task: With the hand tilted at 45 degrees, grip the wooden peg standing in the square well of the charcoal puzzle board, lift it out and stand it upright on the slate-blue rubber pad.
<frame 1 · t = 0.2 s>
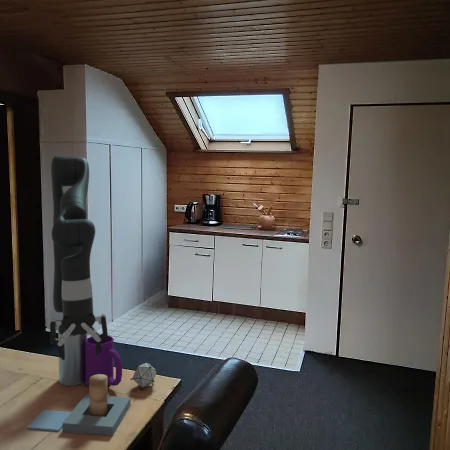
hand: (80, 356, 116), 22 cm above the table, tool pointing down, fingers open, 8 cm apart
peg: (98, 398, 127), in the board
board: (98, 417, 127), on the table
mug: (105, 385, 147), on the table
pad: (51, 421, 125), on the table
game die: (144, 386, 147), on the table
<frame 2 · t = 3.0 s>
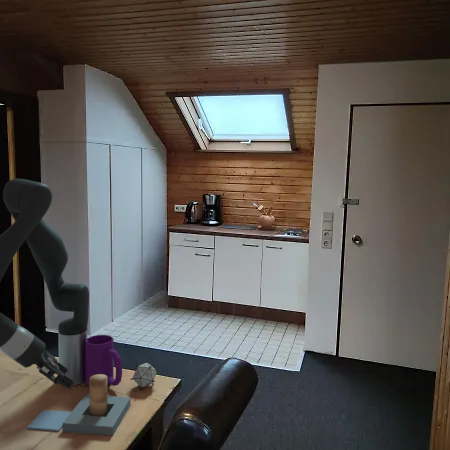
hand: (68, 378, 122), 14 cm above the table, tool tilted 45°, fingers open, 8 cm apart
nothing on the table moved.
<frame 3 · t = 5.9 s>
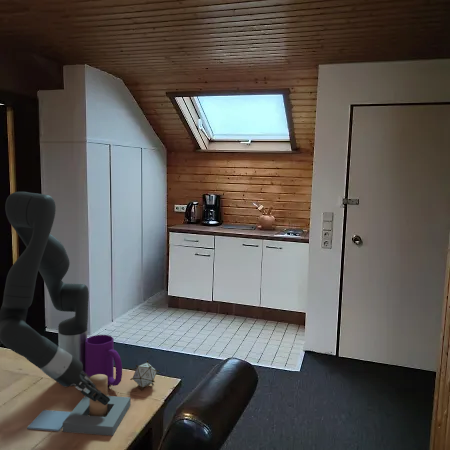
hand: (104, 397, 128), 6 cm above the table, tool tilted 45°, fingers closed on peg, 5 cm apart
peg: (98, 397, 127), in the board, touching gripper
everything else where it was.
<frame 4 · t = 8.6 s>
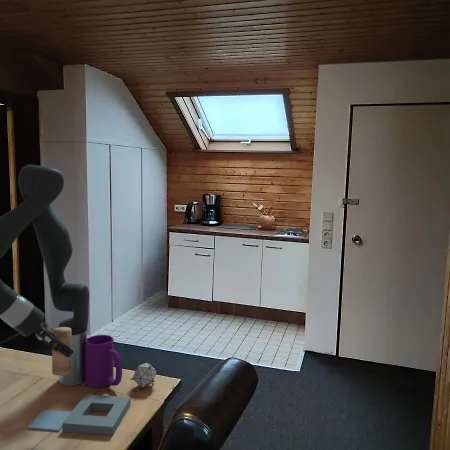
hand: (68, 350, 124), 20 cm above the table, tool tilted 45°, fingers closed on peg, 5 cm apart
peg: (61, 350, 123), point 21 cm above the table, touching gripper
everything else where it was.
when the fingers open (8 cm above the table, at t = 11.7 s): peg drops 1 cm, resting on pad.
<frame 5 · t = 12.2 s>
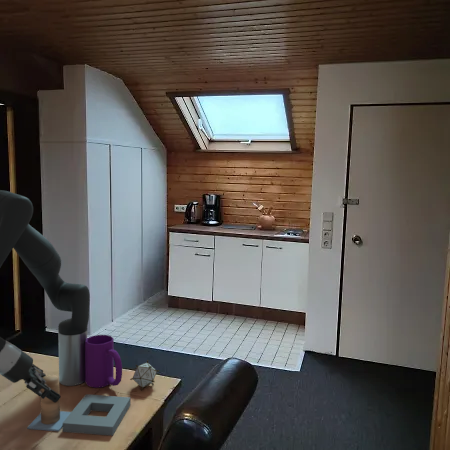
hand: (55, 392, 125), 8 cm above the table, tool tilted 45°, fingers open, 8 cm apart
peg: (50, 399, 124), on the pad
everything else where it was.
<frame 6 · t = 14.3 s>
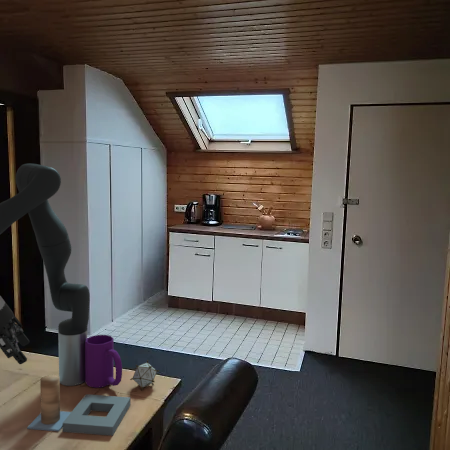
hand: (25, 352, 122), 20 cm above the table, tool tilted 30°, fingers open, 8 cm apart
nothing on the table moved.
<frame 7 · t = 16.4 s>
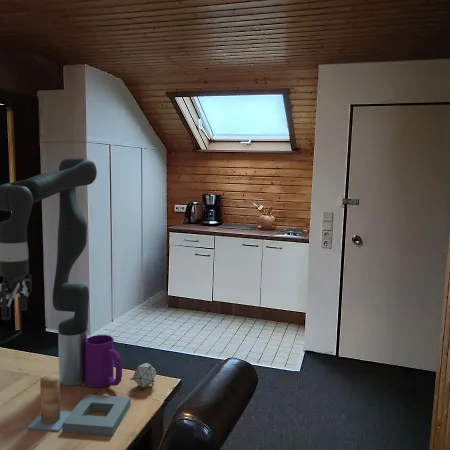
hand: (15, 314, 123), 30 cm above the table, tool pointing down, fingers open, 8 cm apart
nothing on the table moved.
at the end: peg inside the target area on the pad (0.1 cm from its centre), point 6.5 cm above the pad's base; peg tilted 0°; the gripper is holding nothing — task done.
